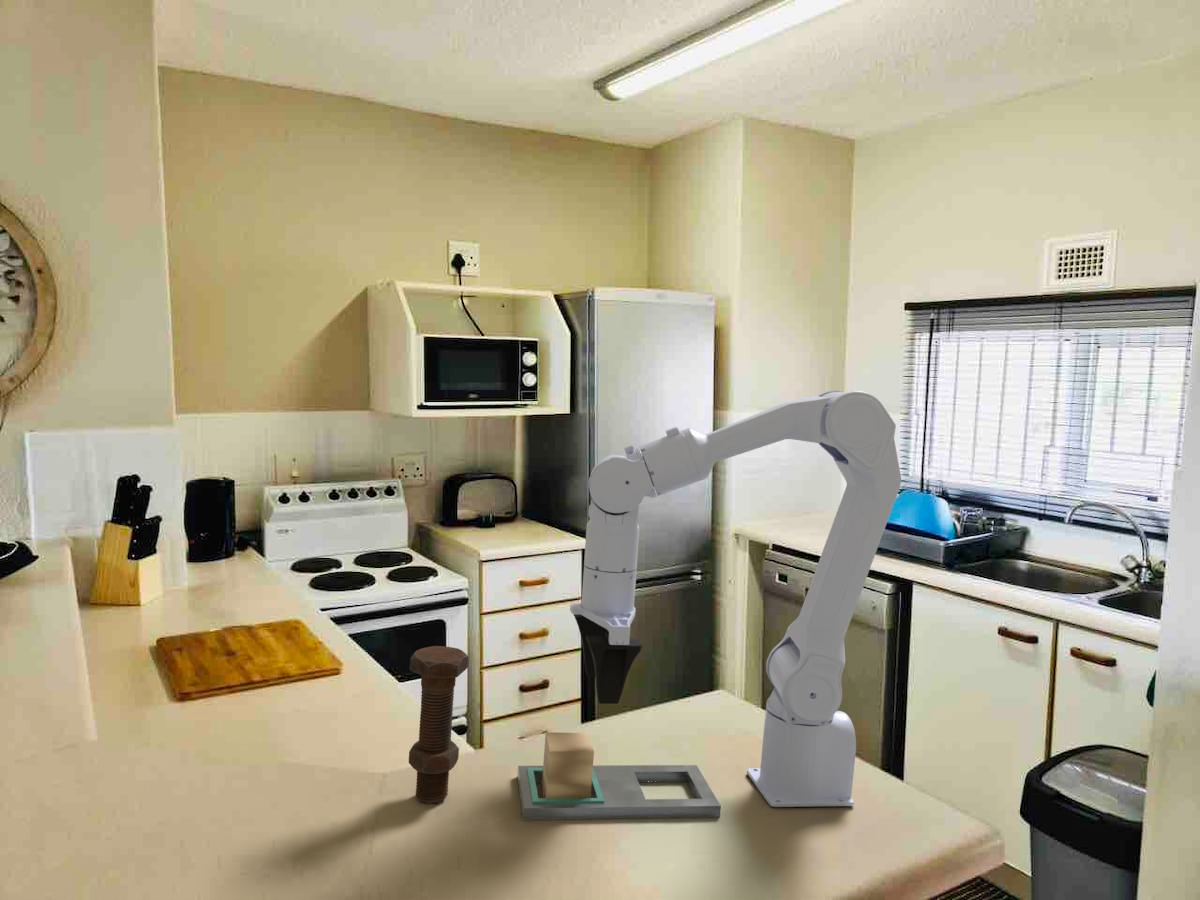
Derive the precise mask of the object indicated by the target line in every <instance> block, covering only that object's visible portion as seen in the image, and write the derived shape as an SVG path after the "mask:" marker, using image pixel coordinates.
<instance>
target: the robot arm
mask: <svg viewBox="0 0 1200 900" xmlns="http://www.w3.org/2000/svg"><path fill="white" fill-rule="evenodd" d="M896 428H897V425H896V423H895V421H894V420H893V419H892V417H891V415H890V414H889V412H888V411H887V409H886V408H885V406H884V405H883V404H882V401H880V399H878V398H877V397H875V396H874V395H872V394H871V393H868V392H865V391H849V392H848V391H847V392H845V391H842V390H841V391H840V390H828V391H824V392H822V393H820V394H818V395H811V396H805V397H800V398H797V399H792V400H790V401H785V402H783V403H780V404H777V405H775V406H772V407H770V408H767V409H765V410H763V411H760V412H758V413H755V414H753V415H751V416H747V417H745V418H743V419H741V420H737V421H736V422H733V423H731V424H728V425H726V426H724V427H721V428H718V429H716V430H714V431H712V432H709V433H706V434H703V433H701V432H698V431H697V430H695V429H692V428H685V429H682V430H680V429H679V427H677V426H674V427H671V428H669V429H666V430H665V434H666V436H664V437H661V438H657V439H655V440H652V441H650V442H647V443H643V444H641V445H639V446H636V447H634V445H633V444H630V445H626V446H625V447H624V448H623V449H624V451H625V454H626V456H624V455H619V454H611V455H607V456H605V457H603V458H601V459H599V460H598V462H596V464H595V465H594V466H593V468H592V470H591V473H590V476H589V478H588V489H589V494H590V497H591V499H590V504H589V506H588V517H589V520H588V522H587V523H586V531H585V543H584V544H585V545H584V547H585V548H584V560H583V573H582V574H583V576H582V592H581V593H582V594H581V602H577V603H571V604H570V606H569V611H570V612H571V614H572V615H573V616H574V619H575V622H576V623H577V626H578V630H579V634H580V640H581V645H582V651H583V652H582V654H583V661H584V662H583V663H584V670H585V673H586V674H585V675H586V677H587V678H594V679H595V687H596V689H595V691H596V692H595V693H596V697H597V701H598V703H599V704H601V705H602V704H603V705H604V704H606V705H607V704H609V705H612V704H613V705H614V704H615V705H616V704H619V703H620V700H621V696H622V694H623V691H624V688H625V687H624V686H625V685H626V684H625V683H626V680H627V677H628V674H629V671H630V669H631V667H632V665H633V663H634V661H635V659H636V658H637V656H638V655H639V654H640V652H641V650H642V648H643V642H642V641H641V640H640V639H638V638H637V639H636V638H630V636H631V625H632V623H633V621H634V619H635V618H636V617H635V616H636V607H635V597H636V595H635V594H636V583H637V572H638V571H637V569H638V556H639V555H638V554H639V542H640V541H639V540H640V531H641V530H640V526H639V524H638V522H639V511H640V510H639V509H640V505H641V503H642V501H643V500H644V499H645V497H648V498H652V499H654V498H657V497H660V496H663V495H665V494H667V493H670V492H673V491H676V490H679V489H681V488H685V487H687V486H689V485H693V484H695V483H699V482H700V481H704V480H707V478H708V477H709V476H710V474H711V472H712V470H713V468H714V466H715V464H716V463H718V462H720V461H723V460H726V459H729V458H732V457H735V456H738V455H742V454H744V453H747V452H751V451H754V450H757V449H760V448H763V447H767V446H768V445H772V444H776V443H778V442H781V441H784V440H795V441H802V442H809V443H815V444H818V445H819V446H820V447H821V448H822V449H823V450H825V451H826V453H827V454H829V455H830V456H831V457H832V458H833V461H834V463H835V464H836V466H837V468H838V469H839V471H840V473H841V475H842V476H843V478H844V481H846V486H845V490H844V492H843V494H842V498H841V500H840V503H839V505H838V509H837V511H836V513H835V516H834V519H833V522H832V524H831V528H830V530H829V532H828V536H827V538H826V541H825V544H824V547H823V550H822V552H821V555H820V558H819V561H818V563H817V566H816V567H815V568H816V569H815V572H814V574H813V577H812V580H811V582H810V585H809V588H808V590H807V593H806V596H805V598H804V602H803V604H802V607H801V609H800V612H799V615H798V617H796V619H795V620H793V621H792V622H791V623H790V624H789V625H788V627H787V628H786V632H785V634H784V636H783V638H782V640H781V641H780V642H779V643H778V644H776V646H774V647H773V648H772V650H771V651H769V655H768V656H767V659H766V663H765V664H766V665H765V666H766V667H765V669H766V674H767V676H768V679H769V682H770V683H771V684H772V685H773V690H772V691H771V694H770V695H769V697H768V698H767V699H766V707H765V716H764V717H765V718H764V727H763V736H762V749H761V757H760V758H761V760H760V767H750V768H747V769H746V774H747V775H748V776H749V778H750V779H751V781H752V782H753V784H754V785H755V786H756V788H757V790H758V791H759V792H760V794H761V796H763V798H764V799H765V801H766V802H767V804H768V805H769V806H770V807H773V808H785V807H787V808H789V807H793V808H795V807H799V808H800V807H803V808H804V807H853V806H855V805H854V804H855V801H854V799H853V798H852V794H853V791H852V790H853V783H854V771H855V762H856V752H857V739H856V737H857V736H856V731H855V727H854V724H853V722H852V719H851V718H850V717H849V715H848V714H847V713H846V712H844V711H841V710H838V709H840V706H841V704H842V700H843V686H842V676H843V673H844V669H845V666H846V650H845V636H846V634H847V630H848V629H849V626H850V623H851V620H852V618H853V615H854V612H855V610H856V607H857V605H858V602H859V599H860V596H861V594H862V591H863V589H864V587H865V583H866V580H867V578H868V575H869V572H870V570H871V567H872V564H873V561H874V558H875V556H876V554H877V550H878V549H879V545H880V542H881V539H882V537H883V535H884V532H885V529H886V527H887V524H888V521H889V519H890V516H891V513H892V511H893V508H894V504H895V502H896V499H897V497H898V494H899V491H900V489H901V484H902V474H901V469H900V464H899V458H898V452H897V448H896V446H897V445H896V441H895V435H896Z"/></svg>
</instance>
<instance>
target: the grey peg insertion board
mask: <svg viewBox="0 0 1200 900" xmlns="http://www.w3.org/2000/svg"><path fill="white" fill-rule="evenodd" d="M542 777H543V765H518V767H517V782H518V789H519V796H520V805H521V810H522V811H521V813H522V819H523V821H543V820H544V821H545V820H546V821H549V820H550V821H553V820H554V821H555V820H557V821H558V820H559V821H560V820H562V821H565V820H566V821H567V820H616V819H617V820H619V819H622V820H623V819H628V820H629V819H630V820H631V819H687V818H688V819H691V818H693V819H696V818H697V819H699V818H700V819H701V818H703V819H704V818H721V807H722V806H721V804H720V802H719V800H718V799H717V797H716V795H715V794H714V792H713V790H712V788H711V786H710V785H709V783H708V782H707V780H706V779H705V777H704V775H703V774H702V772H701V770H700V768H699V767H698V765H697V764H692V765H691V764H689V765H688V764H685V765H684V764H681V765H680V764H679V765H677V764H662V765H661V764H660V765H659V764H654V765H653V764H651V765H650V764H648V765H646V764H645V765H644V764H643V765H640V764H639V765H637V764H636V765H632V764H631V765H629V764H628V765H616V764H615V765H609V764H607V765H603V764H602V765H593V772H592V785H591V798H544V797H543V798H539V795H538V794H539V793H538V789H537V784H541V783H540V782H542ZM648 781H649V782H648ZM651 781H652V782H651ZM655 781H656V782H655ZM640 783H686V784H687V785H688V788H689V789H690V792H691V794H692V796H693V797H694V798H658V799H657V798H656V799H655V798H654V799H653V798H649V799H647V798H646V796H645V794H644V792H643V789H642V788H641V785H640Z"/></svg>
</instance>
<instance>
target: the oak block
mask: <svg viewBox="0 0 1200 900" xmlns="http://www.w3.org/2000/svg"><path fill="white" fill-rule="evenodd" d="M544 738H545V739H544V750H543V764H542V766H543V777H542V783H541V789H543V791H542V795H544V796H543V798H592V795H591V785H592V772H593V766H594V757H595V756H594V755H595V750H594V747H593V745H592V741H591V738H590V735H589V733H588V732H550V731H549V732H545V737H544Z"/></svg>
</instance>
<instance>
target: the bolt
mask: <svg viewBox="0 0 1200 900" xmlns="http://www.w3.org/2000/svg"><path fill="white" fill-rule="evenodd" d="M469 658H470V657H469V655H467V653H466V652H465V651H464V650H462V649H460V648H457V647H452V646H443V645H433V646H427V647H423V648H420V649H417V650H415V652H414V653H413V654H412V655H411V657H410V659H409V671H411V672H413V673H415V674H417V675H419V676H421V677H420V678H421V679H420V683H421V684H420V685H421V691H420V694H421V696H420V700H421V701H420V713H419V714H420V716H419V719H420V720H419V731H418V732H419V733H418V740H416V742H414V744H413V745H412V746H411V748H410V750H409V752H408V764H409V765H410V766H411V767H412V768H413V769H414V770H415V771H416V783H415V784H416V785H415V786H416V787H415V798H416V799H417V800H419V802H422V803H427V804H437V803H441V802H443V801H444V800H445V799H446V798H447V796H448V795H449V794H448V793H449V776H450V773H449V772H450V771H451V770H452V769H453V768H454V767H455V766H456V765H457V762H458V760H459V753H460V752H459V751H460V748H459V747H458V745H457V744H456V743H455V742H454V741H452V727H453V725H452V724H453V712H454V711H453V710H454V697H455V696H454V695H455V693H454V692H455V687H456V681H457V680H456V679H457V678H458V677H459V676H460V675H461V674H462V673H464V672H465V671H466V670H468V668H469Z"/></svg>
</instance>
